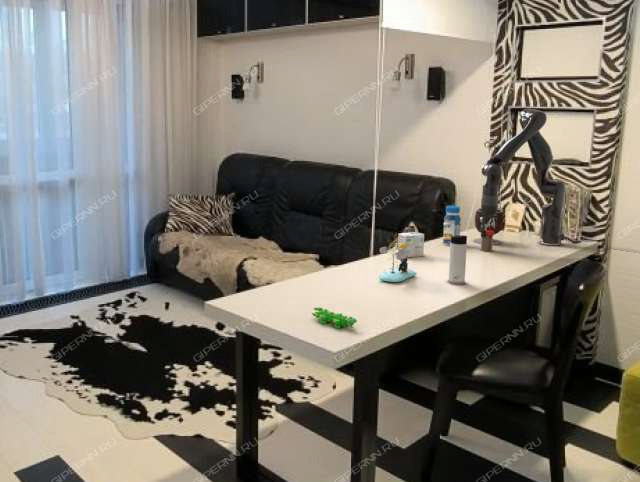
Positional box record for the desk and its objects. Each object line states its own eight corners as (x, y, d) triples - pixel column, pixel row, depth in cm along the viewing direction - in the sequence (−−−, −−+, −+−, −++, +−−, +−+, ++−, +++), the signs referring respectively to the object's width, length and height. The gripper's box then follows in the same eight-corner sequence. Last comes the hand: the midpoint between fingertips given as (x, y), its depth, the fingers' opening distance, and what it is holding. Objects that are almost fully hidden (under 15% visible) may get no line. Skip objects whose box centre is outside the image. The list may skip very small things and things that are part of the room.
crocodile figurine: (350, 333, 194) (350, 320, 193) (306, 319, 206) (306, 307, 206) (362, 327, 198) (362, 315, 197) (318, 314, 211) (319, 302, 210)
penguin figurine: (399, 271, 265) (400, 237, 263) (421, 275, 257) (422, 241, 255) (372, 280, 252) (373, 244, 249) (395, 285, 244) (396, 249, 241)
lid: (488, 232, 304) (488, 229, 303) (496, 234, 298) (496, 231, 298) (478, 233, 302) (478, 230, 302) (486, 235, 296) (486, 232, 296)
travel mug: (457, 285, 243) (460, 237, 240) (445, 281, 249) (447, 234, 246) (468, 283, 246) (471, 235, 243) (456, 279, 252) (458, 232, 248)
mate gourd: (470, 238, 327) (472, 202, 324) (497, 239, 325) (500, 202, 322) (477, 245, 312) (480, 207, 309) (506, 245, 310) (508, 207, 307)
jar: (487, 248, 305) (488, 230, 303) (494, 250, 300) (495, 232, 298) (478, 249, 303) (479, 231, 301) (485, 251, 298) (487, 233, 297)
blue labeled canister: (462, 246, 310) (464, 207, 307) (445, 246, 311) (447, 207, 307) (456, 242, 319) (458, 205, 316) (440, 242, 319) (442, 205, 316)
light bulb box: (415, 252, 297) (416, 231, 295) (424, 256, 291) (425, 234, 289) (397, 254, 294) (397, 233, 292) (404, 257, 287) (405, 235, 286)
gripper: (488, 206, 290) (486, 240, 293) (504, 203, 299) (501, 236, 302) (474, 204, 296) (472, 237, 298) (489, 201, 305) (487, 233, 307)
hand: (487, 236), depth 300 cm, fingers open, 7 cm apart
